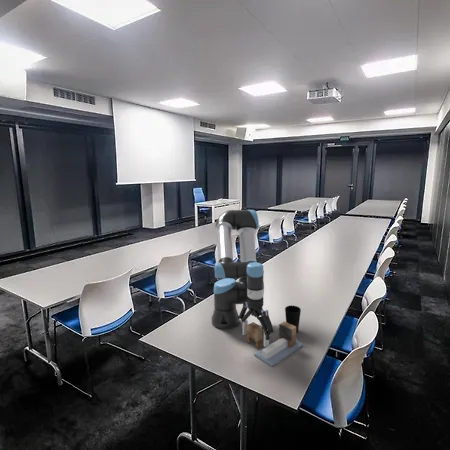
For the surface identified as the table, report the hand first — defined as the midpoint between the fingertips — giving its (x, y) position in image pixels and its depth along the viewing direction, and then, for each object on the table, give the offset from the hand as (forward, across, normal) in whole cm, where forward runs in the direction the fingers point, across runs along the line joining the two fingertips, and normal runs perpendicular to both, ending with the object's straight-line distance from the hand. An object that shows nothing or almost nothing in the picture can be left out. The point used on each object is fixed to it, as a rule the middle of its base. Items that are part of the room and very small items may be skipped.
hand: (255, 339), depth 137 cm
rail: (+2, +11, +4) cm, 12 cm away
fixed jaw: (+2, +11, +10) cm, 15 cm away
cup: (+2, +5, +22) cm, 23 cm away
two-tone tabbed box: (+2, 0, 0) cm, 2 cm away
